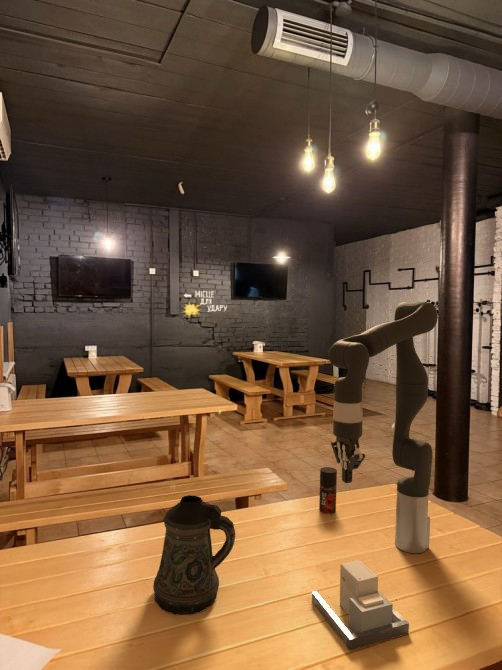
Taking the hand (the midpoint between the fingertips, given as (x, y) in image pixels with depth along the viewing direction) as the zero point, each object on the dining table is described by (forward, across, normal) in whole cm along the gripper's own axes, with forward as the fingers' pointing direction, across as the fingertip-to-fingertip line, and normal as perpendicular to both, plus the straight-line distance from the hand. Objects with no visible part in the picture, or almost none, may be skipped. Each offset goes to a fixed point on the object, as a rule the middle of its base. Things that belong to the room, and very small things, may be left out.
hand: (346, 481), depth 121 cm
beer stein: (+26, +8, +40) cm, 49 cm away
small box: (+27, -12, +5) cm, 30 cm away
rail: (+27, -13, +6) cm, 30 cm away
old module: (+27, -19, +6) cm, 33 cm away
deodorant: (+28, +38, -17) cm, 51 cm away
